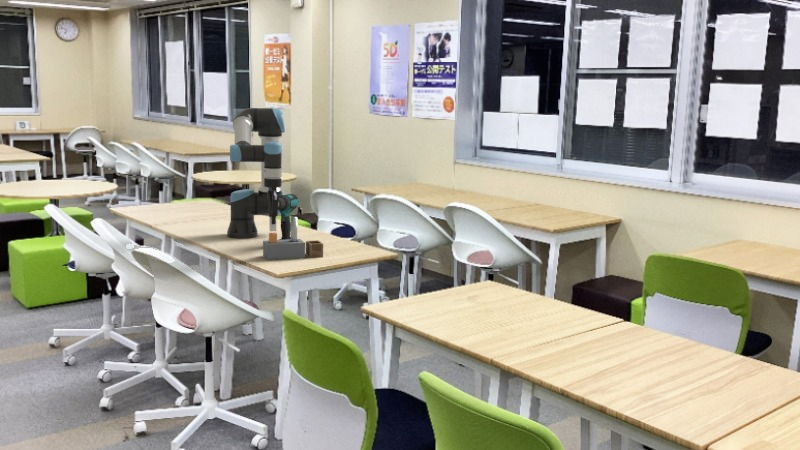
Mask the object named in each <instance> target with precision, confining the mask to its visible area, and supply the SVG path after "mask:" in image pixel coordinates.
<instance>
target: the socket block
mask: <svg viewBox="0 0 800 450" xmlns="http://www.w3.org/2000/svg"><path fill="white" fill-rule="evenodd" d="M262 257H263V258H264V259H265V260H266V261H279V260H280V261H281V260H294V259H295V260H296V259H305V258H306V241H304V240H302V239H301V238H297V242H291V239H286V240H279V239H277V243H270V242H269V239H268V240H265V239H264V240H262Z"/></svg>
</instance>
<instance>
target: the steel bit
mask: <svg viewBox="0 0 800 450" xmlns="http://www.w3.org/2000/svg"><path fill="white" fill-rule="evenodd" d="M290 223H291V231H290V237H291V242H297V239H298V216H290Z"/></svg>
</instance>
